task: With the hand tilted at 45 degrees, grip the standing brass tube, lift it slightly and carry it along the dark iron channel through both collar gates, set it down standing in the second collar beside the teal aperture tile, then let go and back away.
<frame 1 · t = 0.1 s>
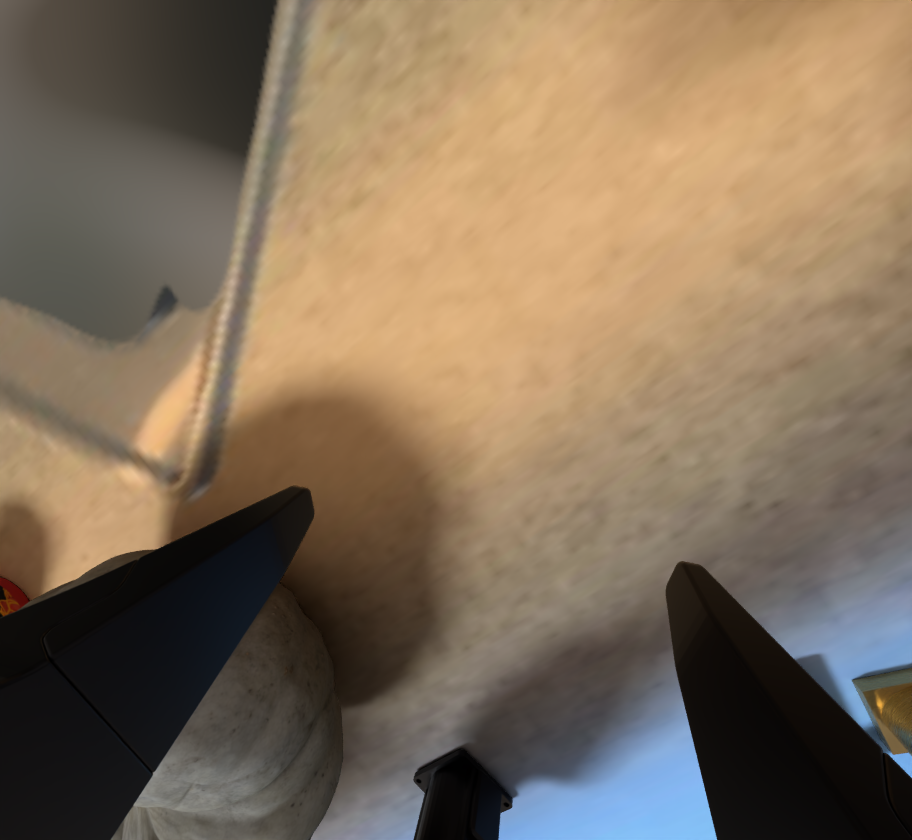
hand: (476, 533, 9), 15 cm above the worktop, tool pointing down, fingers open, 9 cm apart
gourd: (261, 632, 34), on the worktop
canned food: (11, 602, 41), on the worktop
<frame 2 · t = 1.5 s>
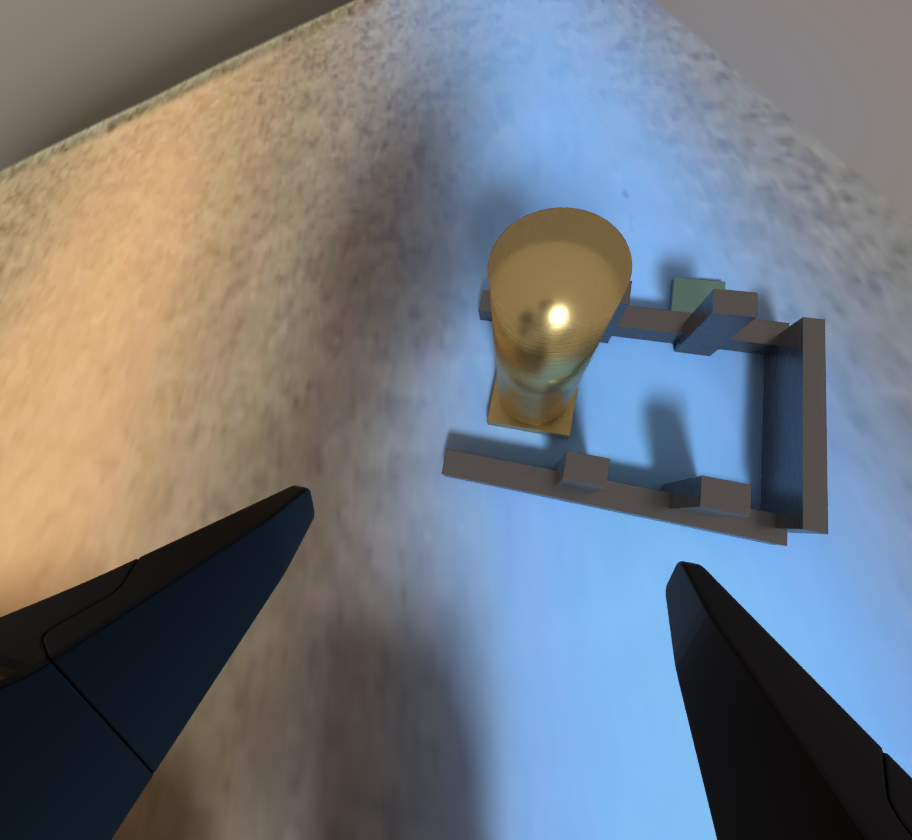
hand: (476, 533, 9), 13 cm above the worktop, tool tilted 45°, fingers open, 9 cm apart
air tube: (533, 393, 24), on the worktop
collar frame: (607, 405, 23), on the worktop
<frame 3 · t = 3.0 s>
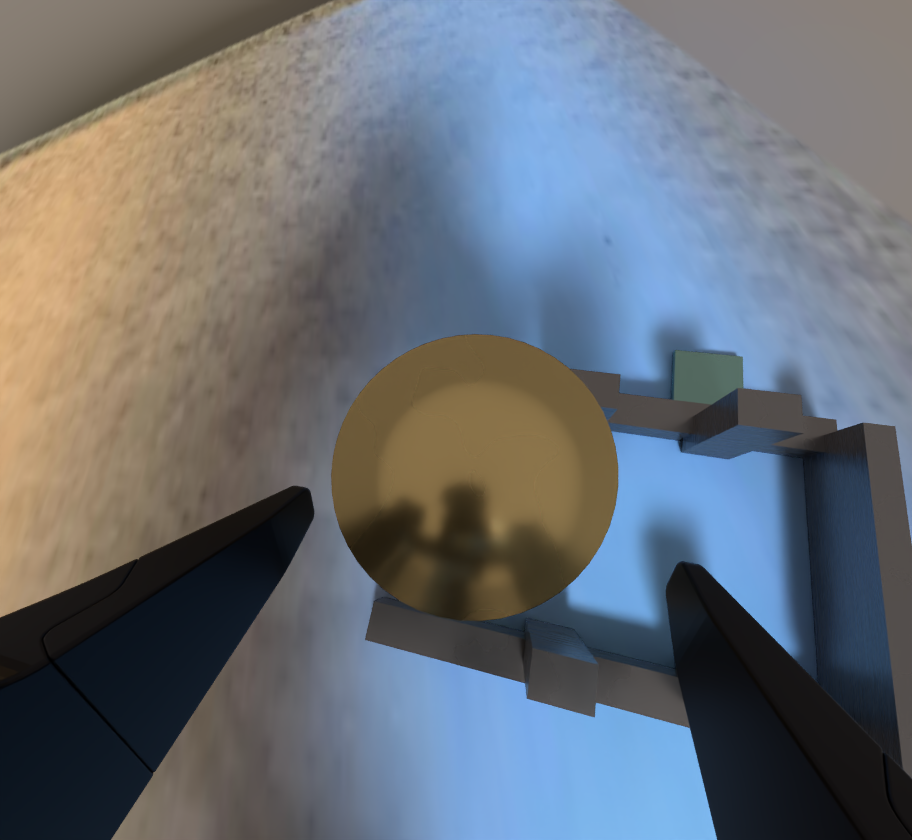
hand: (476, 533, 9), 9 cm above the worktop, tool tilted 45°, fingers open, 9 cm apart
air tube: (495, 511, 17), on the worktop
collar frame: (594, 529, 17), on the worktop
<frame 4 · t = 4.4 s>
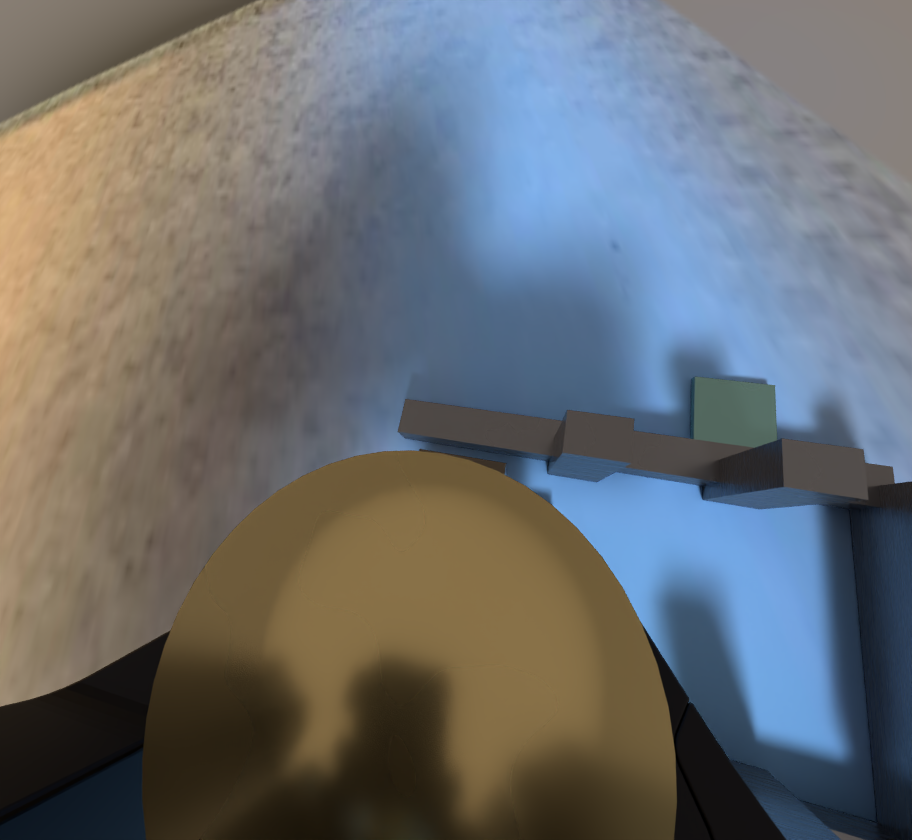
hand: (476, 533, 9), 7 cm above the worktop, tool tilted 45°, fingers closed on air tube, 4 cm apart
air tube: (483, 567, 15), on the worktop, touching gripper
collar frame: (600, 593, 14), on the worktop
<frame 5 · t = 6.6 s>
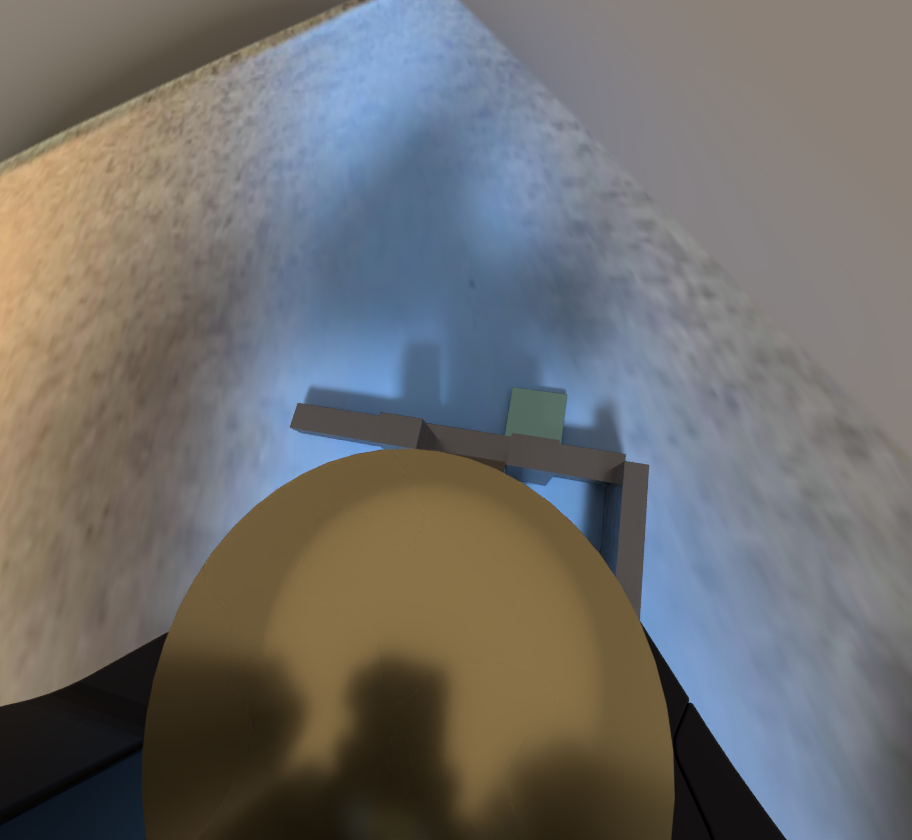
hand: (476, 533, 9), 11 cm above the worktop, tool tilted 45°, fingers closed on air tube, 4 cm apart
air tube: (483, 567, 15), point 4 cm above the worktop, touching gripper
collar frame: (427, 546, 19), on the worktop
when the fingers open (7 cm above the worktop, at t = 8.8 s): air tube stays where it is, on the worktop.
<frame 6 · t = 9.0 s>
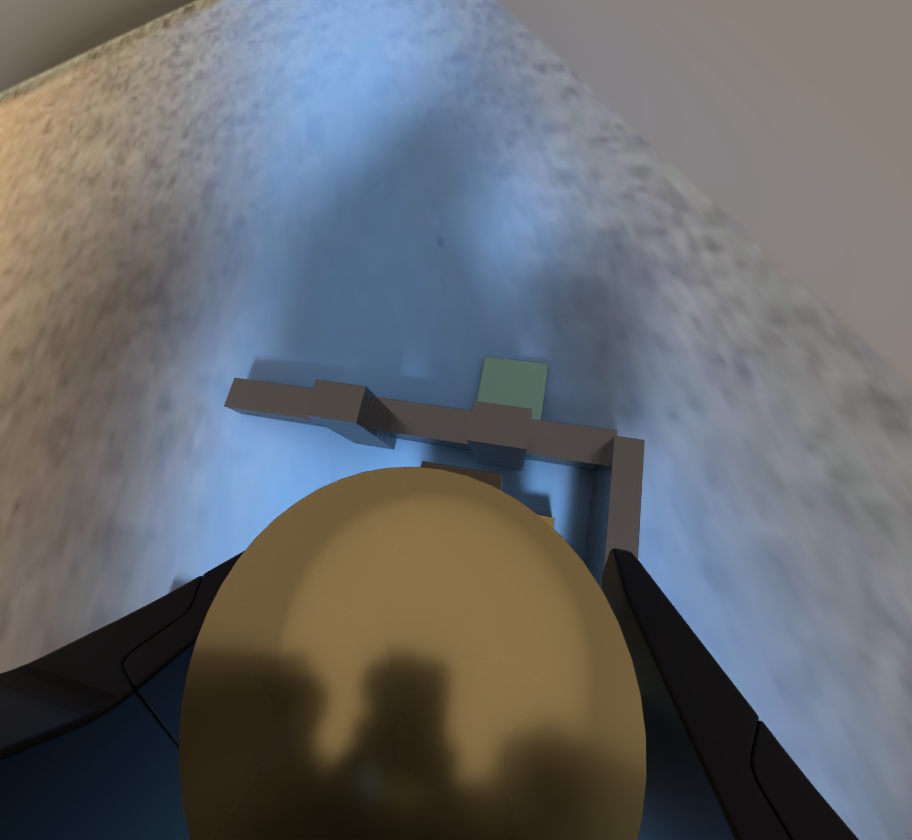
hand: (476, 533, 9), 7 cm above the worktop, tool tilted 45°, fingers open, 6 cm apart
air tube: (483, 568, 15), on the worktop
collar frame: (382, 544, 16), on the worktop
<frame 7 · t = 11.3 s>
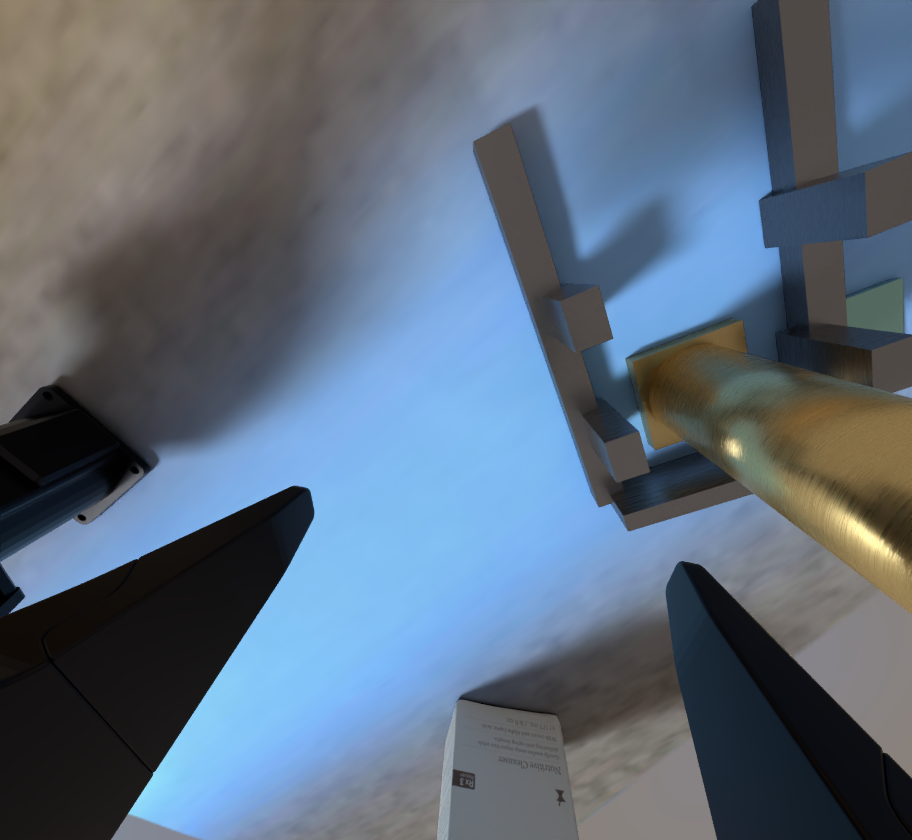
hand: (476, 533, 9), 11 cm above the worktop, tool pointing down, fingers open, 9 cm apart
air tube: (686, 385, 19), on the worktop
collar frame: (670, 298, 17), on the worktop
skincare box: (496, 725, 29), on the worktop
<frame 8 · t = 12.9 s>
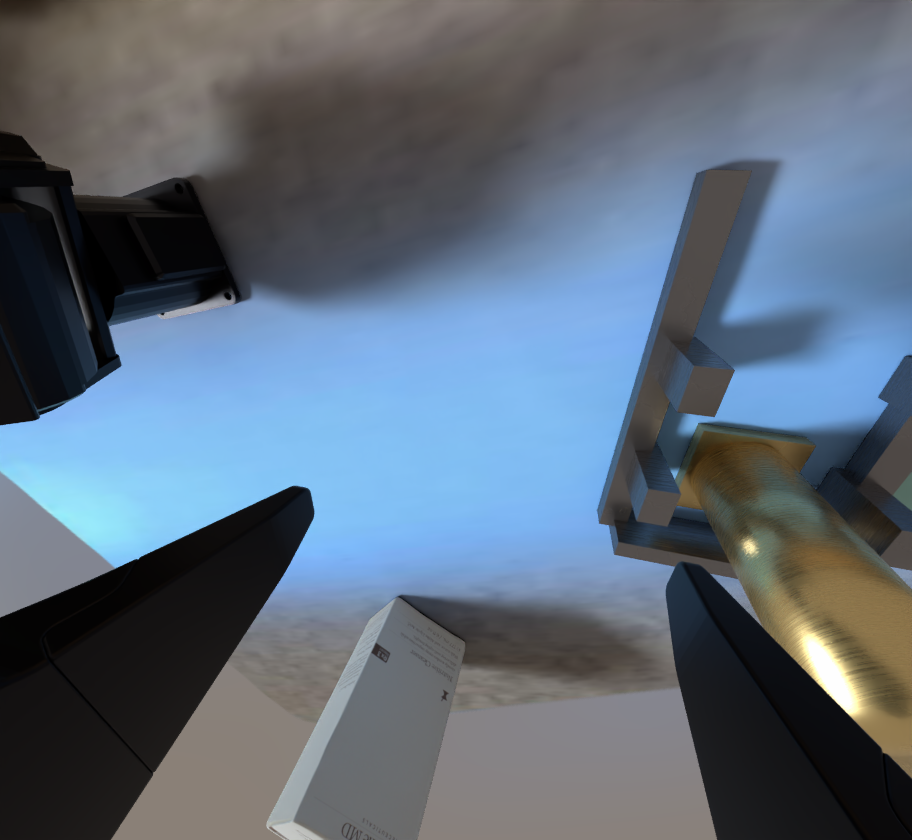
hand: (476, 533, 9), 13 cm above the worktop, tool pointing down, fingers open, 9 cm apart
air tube: (731, 469, 20), on the worktop
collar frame: (770, 395, 18), on the worktop
skincare box: (415, 626, 35), on the worktop
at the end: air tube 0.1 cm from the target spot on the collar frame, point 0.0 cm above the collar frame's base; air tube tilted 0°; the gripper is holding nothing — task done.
